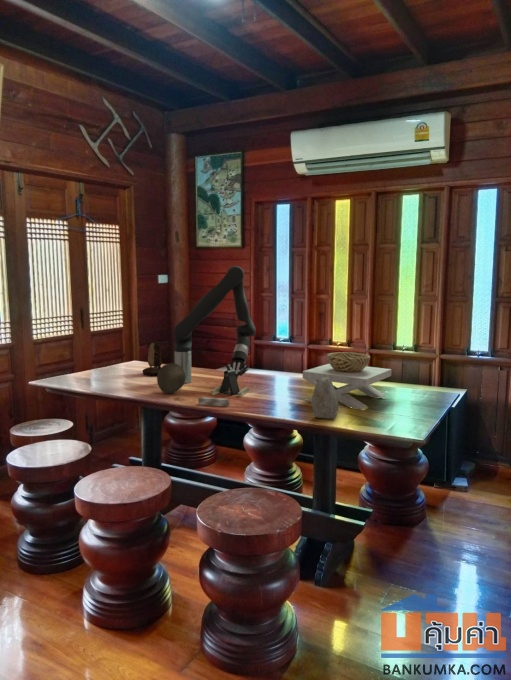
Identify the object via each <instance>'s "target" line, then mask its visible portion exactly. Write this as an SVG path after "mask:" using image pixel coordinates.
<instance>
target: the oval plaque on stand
mask: <svg viewBox="0 0 511 680" xmlns="http://www.w3.org/2000/svg"><path fill="white" fill-rule="evenodd" d="M147 348H148V352H147V353H148V354H147V355H148V356H147V364H148V366H149V367H146V368H143V370H142V374H143V375H151V377H152V376H153V377H154V375H158V372H159V370H160V369H161V367H162V366H163V365H162V364H163V359H162V358H161V357H162V353H161V352H162V351H161V350H162V348H163V344H162V342H160V341H154V340H149V341H148V343H147Z"/></svg>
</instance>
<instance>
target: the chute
mask: <svg viewBox="0 0 511 680" xmlns="http://www.w3.org/2000/svg"><path fill="white" fill-rule="evenodd" d="M221 385H222V384H220V385H217V386H216V387H214V388H213V389H211V390H210V396H215V394H216V395H217V394H218V393H219V391H220V388H221ZM248 391H249V392H250V387H249V386H246V387H244V388H242V389H241V390H240V392H238V394H237V397H239V398H243V397H244V396H245V395H246V394H248V393H249V392H248ZM243 395H244V396H243ZM198 405H200V406H201V405H202V406H215V407H229V406H230V398H218V397H205V396H202V397H201V396H200V397H198Z"/></svg>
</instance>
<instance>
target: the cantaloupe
mask: <svg viewBox="0 0 511 680" xmlns="http://www.w3.org/2000/svg"><path fill="white" fill-rule="evenodd" d="M156 376H157V377H156V383H157V386H158V388H159V389H160V390H161V392H162V393H165V394H174V393H176V392H178V391H179V390H181V389H182V388H183V386H184V385H185V384H186V383H185V379H186V375H185V372H184V370H183V368H182V367H181V366H179V365H178V364H175V362H172V363H171V362H169V363H165V364H164V365H161V369H160V370H159V372H158V374H156Z"/></svg>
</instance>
